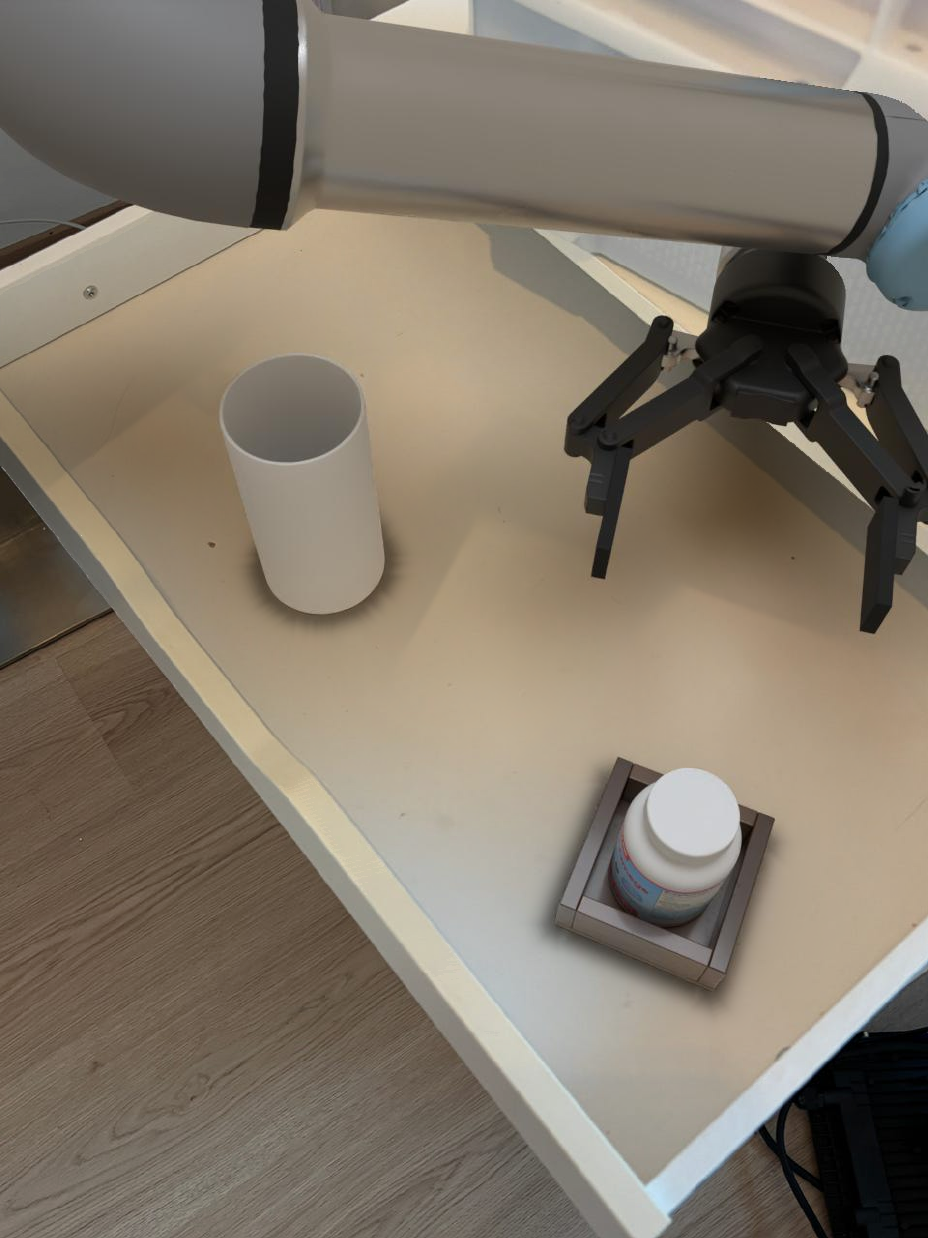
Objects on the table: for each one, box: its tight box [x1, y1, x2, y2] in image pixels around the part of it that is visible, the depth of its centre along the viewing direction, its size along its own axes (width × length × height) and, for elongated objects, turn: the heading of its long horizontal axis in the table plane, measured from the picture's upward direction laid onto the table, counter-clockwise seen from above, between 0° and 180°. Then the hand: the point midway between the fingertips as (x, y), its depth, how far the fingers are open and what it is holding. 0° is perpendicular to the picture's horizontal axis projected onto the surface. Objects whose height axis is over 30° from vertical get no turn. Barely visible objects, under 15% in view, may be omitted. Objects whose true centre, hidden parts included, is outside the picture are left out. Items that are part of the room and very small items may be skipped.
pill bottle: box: [609, 767, 742, 927], centre depth 61 cm, size 6×6×11 cm
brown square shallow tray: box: [554, 756, 776, 992], centre depth 65 cm, size 9×9×4 cm
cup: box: [218, 352, 386, 615], centre depth 71 cm, size 8×8×16 cm
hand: (735, 591), depth 56 cm, fingers open, 13 cm apart
